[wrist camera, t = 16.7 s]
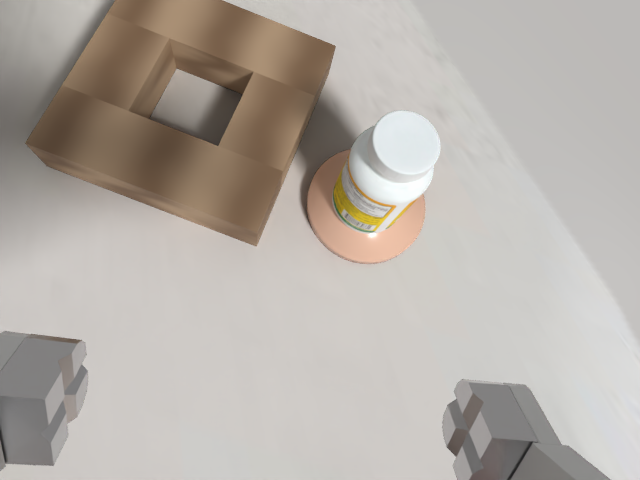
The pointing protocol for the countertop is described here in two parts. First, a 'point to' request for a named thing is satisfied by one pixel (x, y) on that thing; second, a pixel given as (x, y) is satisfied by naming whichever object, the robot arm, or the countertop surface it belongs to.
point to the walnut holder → (175, 146)
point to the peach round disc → (348, 240)
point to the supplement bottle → (386, 171)
